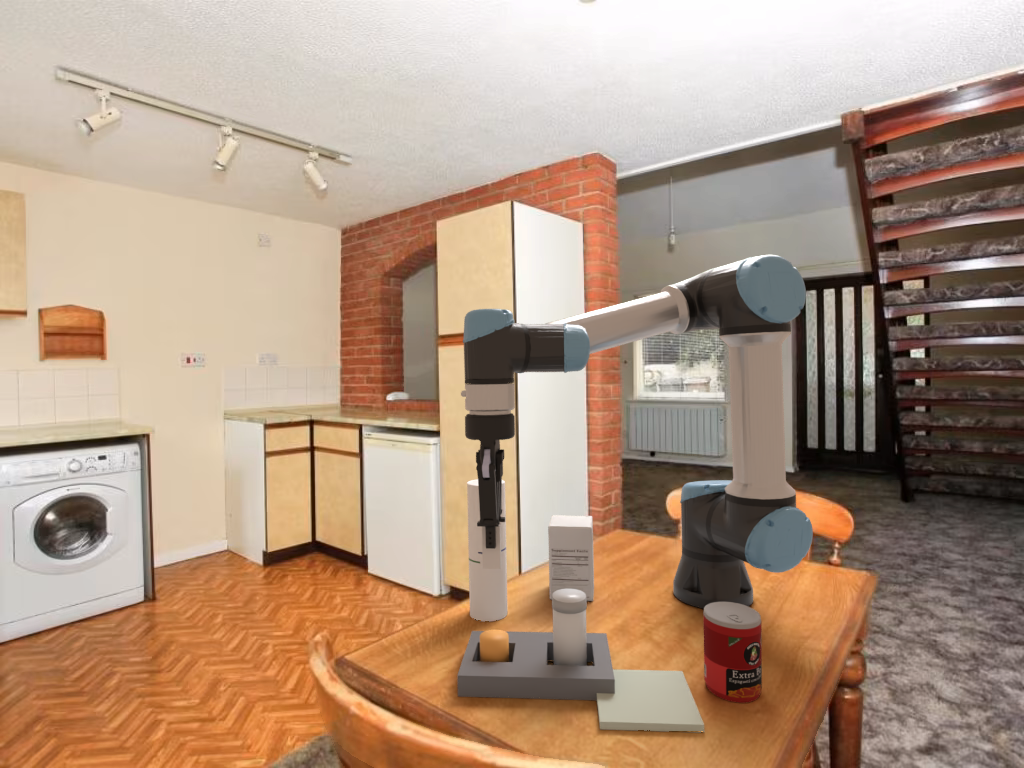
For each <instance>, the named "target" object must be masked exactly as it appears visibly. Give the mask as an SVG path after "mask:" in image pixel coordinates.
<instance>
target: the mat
mask: <svg viewBox="0 0 1024 768" xmlns="http://www.w3.org/2000/svg"><path fill="white" fill-rule="evenodd" d="M613 673H614V678H615V694H610V693H597V700H596V706H597V715H598V722H599V730H611V731H613V730H614V731H616V730H617V731H638V730H644V731H645V732H646V731H647V730H648V731H647V732H649V730H650V732H669V731H700V732H699V733H701V731H703V732H704V733H705V723H704V721H703V718H702V716H701V715H702V714H700V711H699V708H698V706H697V703H696V700H695V699H694V696H693V694H692V690H691V689H690V686H689V684H688V681H687V679H686V677H685V674H684V672H683V670H652V669H614V668H613Z"/></svg>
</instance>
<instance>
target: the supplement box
mask: <svg viewBox="0 0 1024 768" xmlns="http://www.w3.org/2000/svg"><path fill="white" fill-rule="evenodd" d="M593 527H594V525H593V516H592V515H564V514H563V515H562V514H553V515H551V518H550V520H549V523H548V527H547V528H548V529H547V532H548V533H547V534H548V572H549V573H548V580H549V581H548V582H549V600H552V594H553V592H555V591H557V590H560V589H577V590H581V591H583V592H584V593H585V594H586V598H587V602H594V596H595V595H594V594H595V574H594V573H595V568H594V567H595V565H594V564H595V563H594V532H593V531H594V528H593Z"/></svg>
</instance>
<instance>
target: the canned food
mask: <svg viewBox="0 0 1024 768" xmlns="http://www.w3.org/2000/svg"><path fill="white" fill-rule="evenodd" d="M702 614H703V615H702V616H703V623H702V624H703V675H704V676H703V678H704V682H705V686H706V688H707V689H708V691H709V692H710V693H712V694H713V695H714V696H716V697H718V698H720V699H722V700H723V701H724V700H725V701H728V702H731V703H737V702H738V704H744V703H745V704H746V702H747V703H751V702H753V701H756V700H758V698H759V697H760V695H761V693H762V688H763V682H762V681H763V677H762V676H763V675H762V672H763V665H762V661H763V660H762V658H763V657H762V655H763V654H762V653H763V652H762V645H763V644H762V642H763V641H762V634H763V633H762V632H763V631H762V618H761V617H762V616H761V614H760V612H759V611H757V609H754V608H752V607H750V606H746V605H742V604H739V603H734V602H714V603H710V604H708V605H706V606H705V607H704V608H703V613H702Z"/></svg>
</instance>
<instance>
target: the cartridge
mask: <svg viewBox="0 0 1024 768" xmlns="http://www.w3.org/2000/svg"><path fill="white" fill-rule="evenodd" d="M587 602H588V601H587V598H586V594H585V593H584V592H583V591H581V590H577V589H560V590H557V591H555V592H553V594H552V599H551V608H552V632H553V654H554V661H553V665H573V666H588V662H587V640H586V633H587V607H588V606H587V605H588V604H587Z"/></svg>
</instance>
